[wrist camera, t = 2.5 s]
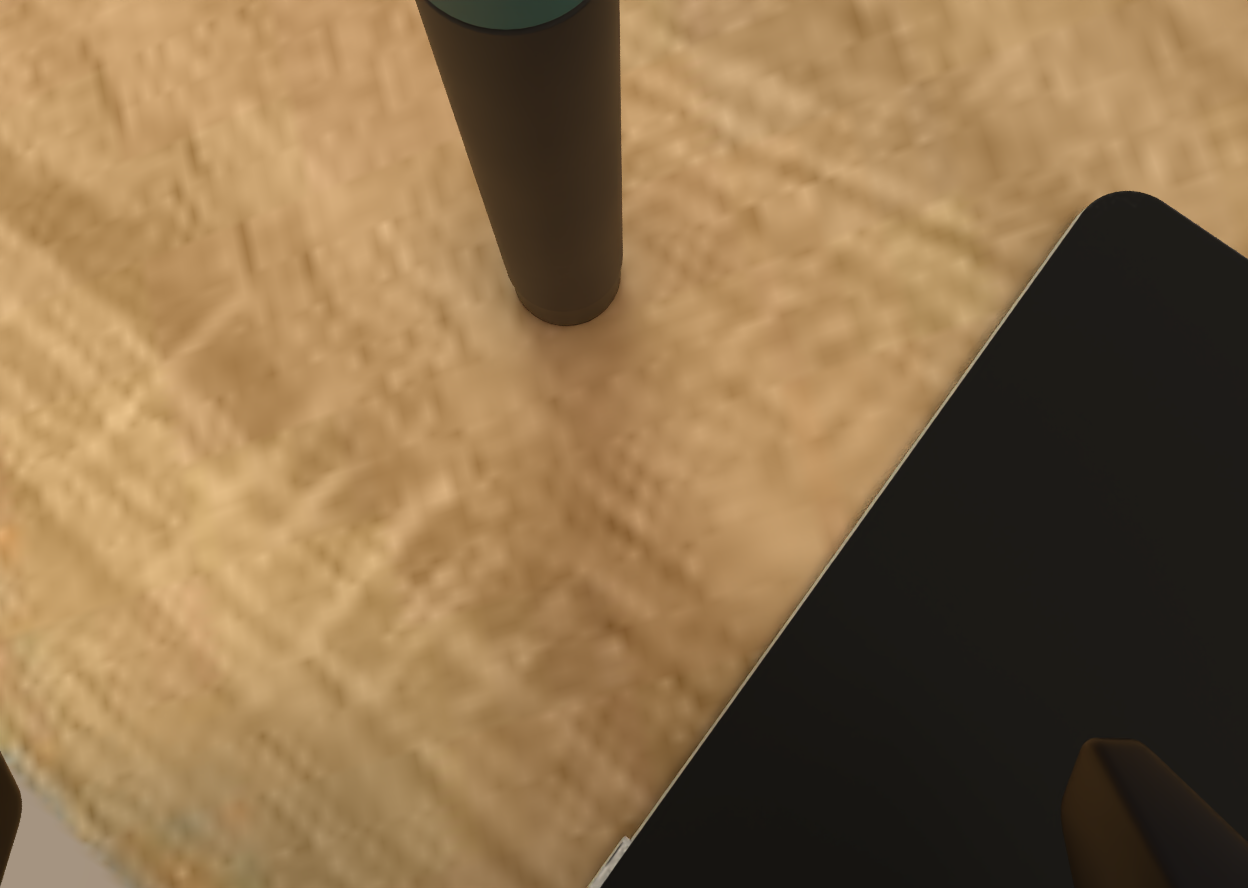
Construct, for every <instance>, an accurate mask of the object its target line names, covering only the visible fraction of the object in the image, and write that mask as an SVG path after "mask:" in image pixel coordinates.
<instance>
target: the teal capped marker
mask: <svg viewBox="0 0 1248 888" xmlns="http://www.w3.org/2000/svg"><path fill="white" fill-rule="evenodd" d="M415 1H416V4H417V7H418V10H419V13H420V15H421V18H422V21H423V24H424V27H425V30H426V33H427V36H428V39H429V42H430V45H431V48H432V51H433V54H434V57H435V60H436V63H437V66H438V69H439V72H440V75H441V78H442V81H443V84H444V87H445V90H446V92H447V95H448V98H449V101H450V104H451V107H452V110H453V113H454V116H455V119H456V122H457V125H458V128H459V131H460V134H461V137H462V140H463V143H464V146H465V149H466V152H467V155H468V158H469V161H470V164H471V167H472V169H473V172H474V175H475V178H476V181H477V184H478V187H479V190H480V193H481V196H482V199H483V202H484V205H485V208H486V211H487V214H488V217H489V220H490V223H491V226H492V229H493V232H494V235H495V238H496V241H497V244H498V247H499V249H500V252H501V255H502V258H503V261H504V264H505V267H506V270H507V273H508V276H509V278H510V280H511V282H512V284H513V285H514V287H515V289H516V292H517V295H518V297H519V299H520V300H521V302H522V303H523V305H524V306H525V307H526V308H527V309H528V310H529V311H530V312H531V313H532V314H533V315H535V316H536V317H538V318H540V319H542V320H544V321H546V322H549V323H552V324H557V325H576V324H581V323H584V322H587V321H589V320H591V319H593V318H595V317H596V316H598V315H599V314H601V313H602V312H603V311H604V310H605V309H606V308H607V307H608V306H609V305H610V303H611V302H612V300H613V299H614V297H615V295H616V293H617V290H618V287H619V283H620V274H621V271H620V270H621V265H622V257H623V243H622V166H621V89H620V12H619V0H415Z"/></svg>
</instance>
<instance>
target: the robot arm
mask: <svg viewBox="0 0 1248 888" xmlns="http://www.w3.org/2000/svg"><path fill="white" fill-rule="evenodd" d="M21 812H22V799H21V794H20V790H19V788H18V786H17V784H16V782H15V780H14V778H13V776H12V774H11V772H10V770H9V768H8V766H7V764H6V762H5V760H4V758H3V756H2V754H1V752H0V885H1V882H2V879H3V875H4V872H5V869H6V866H7V862H8V859H9V856H10V852H11V849H12V846H13V843H14V839H15V836H16V833H17V829H18V826H19V822H20V818H21ZM1061 825H1062V831H1063V836H1064V840H1065V845H1066V850H1067V855H1068V859H1069V864H1070V869H1071V874H1072V879H1073V883H1074V888H1248V842H1247V841H1246V840H1245V839H1244V838H1243V837H1242V836H1241V835H1240V834H1239V833H1238V832H1236V831H1235V830H1234V829H1233V828H1232V827H1231V826H1230V825H1229V824H1228V823H1227V822H1226V821H1225V820H1224V819H1223V818H1222V817H1221V816H1220V815H1219V814H1218V813H1217V812H1216V811H1214V810H1213V809H1212V808H1211V807H1210V806H1209V805H1208V804H1207V803H1206V802H1205V801H1204V800H1203V799H1202V798H1201V797H1200V796H1199V795H1198V794H1197V793H1196V792H1195V791H1193V790H1192V789H1191V788H1190V787H1189V786H1188V785H1187V784H1186V783H1185V782H1184V781H1183V780H1182V779H1181V778H1180V777H1179V776H1178V775H1177V774H1176V773H1175V772H1174V771H1173V770H1171V769H1170V768H1169V767H1168V766H1167V765H1166V764H1165V763H1164V762H1163V761H1162V760H1161V759H1160V758H1159V757H1158V756H1157V755H1156V754H1155V753H1154V752H1153V751H1152V750H1150V749H1149V748H1148V747H1147V746H1146V745H1145V744H1143V743H1141V742H1140V741H1138V740H1135V739H1131V738H1091V739H1089V740H1087V741H1086V742H1085V743H1084V744H1083V745H1082V747H1081V749H1080V751H1079V754H1078V757H1077V759H1076V762H1075V765H1074V767H1073V770H1072V773H1071V776H1070V778H1069V781H1068V784H1067V786H1066V789H1065V792H1064V794H1063V798H1062V802H1061Z"/></svg>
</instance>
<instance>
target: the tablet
mask: <svg viewBox="0 0 1248 888" xmlns="http://www.w3.org/2000/svg"><path fill="white" fill-rule="evenodd" d="M1091 738H1131V739H1135V740H1138V741H1140V742H1141V743H1143V744H1145V745H1146V746H1147V747H1148V748H1149V749H1150V750H1152V751H1153V752H1154V753H1155V754H1156V755H1157V756H1158V757H1159V758H1160V759H1161V760H1162V761H1163V762H1164V763H1165V764H1166V765H1167V766H1168V767H1169V768H1170V769H1171V770H1173V771H1174V772H1175V773H1176V774H1177V775H1178V776H1179V777H1180V778H1181V779H1182V780H1183V781H1184V782H1185V783H1186V784H1187V785H1188V786H1189V787H1190V788H1191V789H1192V790H1193V791H1195V792H1196V793H1197V794H1198V795H1199V796H1200V797H1201V798H1202V799H1203V800H1204V801H1205V802H1206V803H1207V804H1208V805H1209V806H1210V807H1211V808H1212V809H1213V810H1214V811H1216V812H1217V813H1218V814H1219V815H1220V816H1221V817H1222V818H1223V819H1224V820H1225V821H1226V822H1227V823H1228V824H1229V825H1230V826H1231V827H1232V828H1233V829H1234V830H1235V831H1236V832H1238V833H1239V834H1240V835H1241V836H1242V837H1243V838H1244V839H1245V840H1246V841H1247V842H1248V259H1247V258H1245V257H1244V256H1243V255H1241V254H1240V253H1238V252H1237V251H1235V250H1234V249H1232V248H1231V247H1229V246H1228V245H1226V244H1225V243H1223V242H1222V241H1220V240H1219V239H1217V238H1216V237H1214V236H1213V235H1212V234H1210V233H1209V232H1207V231H1206V230H1204V229H1203V228H1201V227H1200V226H1198V225H1197V224H1195V223H1194V222H1192V221H1191V220H1189V219H1188V218H1186V217H1185V216H1183V215H1182V214H1180V213H1179V212H1178V211H1176V210H1175V209H1173V208H1172V207H1170V206H1169V205H1167V204H1166V203H1164V202H1163V201H1161V200H1159V199H1158V198H1155V197H1153V196H1151V195H1148V194H1145V193H1141V192H1135V191H1120V192H1114V193H1110V194H1107V195H1105V196H1102V197H1101V198H1099V199H1097V200H1095V201H1094V202H1093V203H1091V204H1090V205H1089V206H1088V207H1087V208H1085V209H1084V210H1083V211H1082V212H1081V213H1080V214H1079V215H1078V216H1077V217H1076V218H1075V219H1074V221H1073V222H1072V223H1071V225H1070V226H1069V228H1068V229H1067V230H1066V232H1065V233H1064V235H1063V236H1062V237H1061V239H1060V240H1059V242H1058V243H1057V244H1056V246H1055V247H1054V248H1053V250H1052V251H1051V253H1050V254H1049V255H1048V257H1047V258H1046V260H1045V261H1044V262H1043V264H1042V265H1041V267H1040V268H1039V269H1038V271H1037V272H1036V274H1035V275H1034V276H1033V278H1032V279H1031V281H1030V282H1029V283H1028V285H1027V286H1026V288H1025V289H1024V290H1023V292H1022V293H1021V295H1020V296H1019V297H1018V299H1017V300H1016V302H1015V303H1014V304H1013V306H1012V307H1011V309H1010V310H1009V311H1008V313H1007V314H1006V316H1005V317H1004V318H1003V320H1002V321H1001V323H1000V324H999V325H998V327H997V328H996V330H995V331H994V332H993V334H992V335H991V337H990V338H989V339H988V341H987V342H986V344H985V345H984V346H983V348H982V349H981V351H980V352H979V353H978V355H977V356H976V358H975V359H974V360H973V362H972V363H971V365H970V366H969V367H968V369H967V370H966V372H965V373H964V374H963V376H962V377H961V379H960V380H959V381H958V383H957V384H956V386H955V387H954V388H953V390H952V391H951V393H950V394H949V395H948V397H947V398H946V400H945V401H944V402H943V404H942V405H941V407H940V408H939V409H938V411H937V412H936V413H935V415H934V416H933V418H932V419H931V420H930V422H929V423H928V425H927V426H926V427H925V429H924V430H923V432H922V433H921V434H920V436H919V437H918V439H917V440H916V441H915V443H914V444H913V446H912V447H911V448H910V450H909V451H908V453H907V454H906V455H905V457H904V458H903V460H902V461H901V462H900V464H899V465H898V467H897V468H896V469H895V471H894V472H893V474H892V475H891V476H890V478H889V479H888V481H887V482H886V483H885V485H884V486H883V488H882V489H881V490H880V492H879V493H878V495H877V496H876V497H875V499H874V500H873V502H872V503H871V504H870V506H869V507H868V509H867V510H866V511H865V513H864V514H863V516H862V517H861V518H860V520H859V521H858V523H857V524H856V525H855V527H854V528H853V530H852V531H851V532H850V534H849V535H848V537H847V538H846V539H845V541H844V542H843V544H842V545H841V546H840V548H839V549H838V551H837V552H836V553H835V555H834V556H833V558H832V559H831V560H830V562H829V563H828V565H827V566H826V567H825V569H824V570H823V571H822V573H821V574H820V576H819V577H818V578H817V580H816V581H815V583H814V584H813V585H812V587H811V588H810V590H809V591H808V592H807V594H806V595H805V597H804V598H803V599H802V601H801V602H800V604H799V605H798V606H797V608H796V609H795V611H794V612H793V613H792V615H791V616H790V618H789V619H788V620H787V622H786V623H785V625H784V626H783V627H782V629H781V630H780V632H779V633H778V634H777V636H776V637H775V639H774V640H773V641H772V643H771V644H770V646H769V647H768V648H767V650H766V651H765V653H764V654H763V655H762V657H761V658H760V660H759V661H758V662H757V664H756V665H755V667H754V668H753V669H752V671H751V672H750V674H749V675H748V676H747V678H746V679H745V681H744V682H743V683H742V685H741V686H740V688H739V689H738V690H737V692H736V693H735V695H734V696H733V697H732V699H731V700H730V702H729V703H728V704H727V706H726V707H725V709H724V710H723V711H722V713H721V714H720V716H719V717H718V718H717V720H716V721H715V723H714V724H713V725H712V727H711V728H710V729H709V731H708V732H707V734H706V735H705V736H704V738H703V739H702V741H701V742H700V743H699V745H698V746H697V748H696V749H695V750H694V752H693V753H692V755H691V756H690V757H689V759H688V760H687V762H686V763H685V764H684V766H683V767H682V769H681V770H680V771H679V773H678V774H677V776H676V777H675V778H674V780H673V781H672V783H671V784H670V785H669V787H668V788H667V790H666V791H665V792H664V794H663V795H662V797H661V798H660V799H659V801H658V802H657V804H656V805H655V806H654V808H653V809H652V811H651V812H650V813H649V815H648V816H647V818H646V819H645V820H644V822H643V823H642V825H641V826H640V827H639V829H638V830H637V832H636V833H635V834H634V836H633V837H632V839H631V840H630V839H629V838H627V837H626V836H624V837H623V838H622V839H621V841H620V842H619V843H618V845H617V846H616V848H615V849H614V850H613V852H612V853H611V855H610V856H609V857H608V859H607V860H606V862H605V863H604V864H603V866H602V867H601V869H600V870H599V871H598V873H597V874H596V876H595V877H594V878H593V880H592V881H591V882H590V884H589V885H588V887H587V888H1074V883H1073V879H1072V874H1071V869H1070V864H1069V859H1068V855H1067V850H1066V845H1065V840H1064V836H1063V831H1062V825H1061V802H1062V798H1063V794H1064V792H1065V789H1066V786H1067V784H1068V781H1069V778H1070V776H1071V773H1072V770H1073V767H1074V765H1075V762H1076V759H1077V757H1078V754H1079V751H1080V749H1081V747H1082V745H1083V744H1084V743H1085V742H1086V741H1087V740H1089V739H1091Z"/></svg>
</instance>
